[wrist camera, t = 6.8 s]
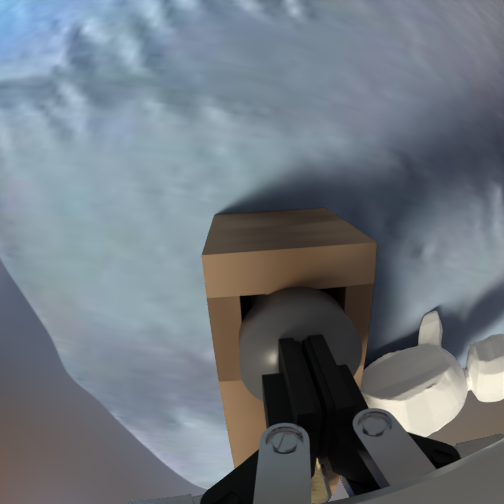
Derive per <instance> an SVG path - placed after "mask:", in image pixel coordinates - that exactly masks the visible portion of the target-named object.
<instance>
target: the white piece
mask: <svg viewBox="0 0 504 504" xmlns="http://www.w3.org/2000/svg"><path fill="white" fill-rule="evenodd" d="M442 332H443V329H442V325H441V321H440V319H439V315H438V312H437V311H432V312H429V313H427V314H426V315H425V316H424V318H423V320H422V324H421V325H420V330H419V338H418V339H419V341H418V346H416V347H412V348H407V349H404V350H401V351H399V350H398V351H396V352H394V353H388V354H386V355H383V356H382V357H381V358H378V359H377V360H376V361H374V362H373V363H371V364H370V365H369V366H368V367H366V369H364V371H363V374H362V380H361V386H360V391H361V393H362V395H363V397H364V399H365V401H366V403H367V405H368V407H369V409H370V408H379V409H384V410H386V411H388V412H390V413H391V414H392V415H393V416H394V417H395V418H396V419H397V420H398V422H399V423H400V424H401V425H402V427H403V428H404V429H405V430H406V431H407V432H410V433H413V434H416V435H419V436H423V437H426V436H428V435H430V434H431V433H433V432H436V431H438V430H439V429H440V428H442V427H443V426H444V425H445V424H447V423H448V422H450V421H451V420H453V419H454V418H455V417H456V416H457V414H458V413H459V411H460V410H461V408H462V406H463V404H464V402H465V399H466V396H467V391H469V390H472V391H473V393H474V394H475V396H476V397H477V398H478V400H479V401H483V402H495V401H499V400H502V399H504V335H503V334H496V335H492V336H489V337H488V338H486V339H484V340H482V341H479V342H474V343H473V344H471V345H470V347H469V350H468V354H467V362H466V368H464V369H463V368H462V367H461V365H460V363H459V362H458V360H457V359H456V358H455V357H454V356H453V355H452V354H451V353H449V352H448V351H447V350H445V349H443V348H442V347H441V340H442Z"/></svg>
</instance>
